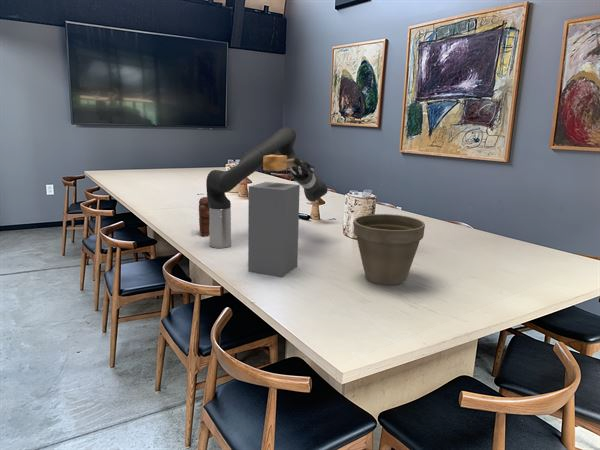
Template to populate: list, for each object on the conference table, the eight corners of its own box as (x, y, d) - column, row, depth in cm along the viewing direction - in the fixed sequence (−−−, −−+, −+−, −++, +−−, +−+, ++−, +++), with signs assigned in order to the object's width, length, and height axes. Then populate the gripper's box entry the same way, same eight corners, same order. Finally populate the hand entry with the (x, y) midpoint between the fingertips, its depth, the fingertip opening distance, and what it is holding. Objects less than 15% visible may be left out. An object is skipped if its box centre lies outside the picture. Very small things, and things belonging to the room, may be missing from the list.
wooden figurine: (214, 236, 221) (213, 199, 217) (200, 237, 219) (199, 199, 215) (211, 230, 232) (211, 194, 228) (198, 231, 230) (197, 195, 226)
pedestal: (248, 271, 173) (248, 186, 166) (265, 261, 186) (266, 181, 179) (282, 277, 168) (284, 189, 161) (297, 266, 181) (299, 184, 174)
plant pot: (366, 293, 155) (370, 230, 150) (341, 269, 179) (343, 214, 174) (432, 288, 162) (439, 227, 157) (399, 266, 185) (404, 212, 180)
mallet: (263, 170, 166) (263, 156, 165) (288, 164, 186) (288, 152, 185) (278, 171, 164) (278, 157, 163) (302, 165, 184) (302, 152, 183)
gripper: (291, 167, 200) (276, 149, 184) (322, 169, 194) (309, 151, 179) (287, 183, 198) (272, 166, 182) (318, 186, 193) (305, 169, 177)
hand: (291, 159), depth 181 cm, fingers closed on mallet, 3 cm apart
